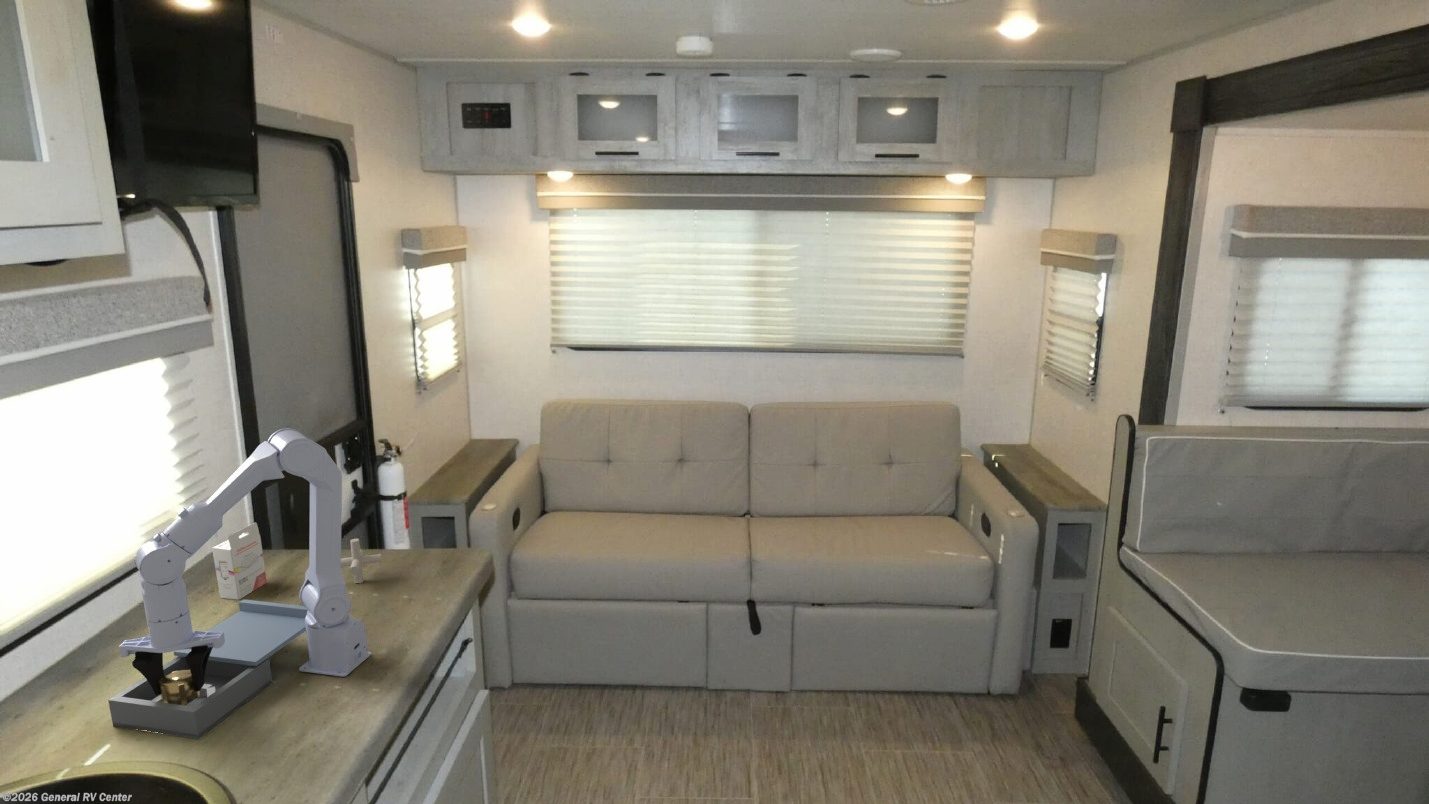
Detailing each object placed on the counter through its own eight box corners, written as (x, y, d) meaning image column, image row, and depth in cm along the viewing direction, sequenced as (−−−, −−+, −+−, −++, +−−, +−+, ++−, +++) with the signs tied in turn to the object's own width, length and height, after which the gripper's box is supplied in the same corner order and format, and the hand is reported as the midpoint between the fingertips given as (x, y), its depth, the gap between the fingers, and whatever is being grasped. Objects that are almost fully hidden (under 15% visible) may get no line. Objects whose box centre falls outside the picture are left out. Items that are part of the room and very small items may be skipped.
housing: (272, 683, 142) (269, 658, 141) (198, 739, 126) (194, 712, 125) (194, 672, 145) (190, 648, 144) (113, 726, 129) (108, 700, 128)
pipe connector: (337, 575, 184) (333, 534, 182) (384, 570, 187) (380, 529, 185) (331, 594, 175) (326, 551, 172) (380, 588, 178) (376, 546, 175)
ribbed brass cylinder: (202, 700, 132) (199, 678, 131) (166, 712, 129) (162, 690, 128) (195, 686, 136) (192, 665, 135) (160, 698, 133) (156, 676, 132)
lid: (320, 620, 153) (318, 607, 152) (256, 666, 137) (254, 652, 137) (245, 611, 156) (243, 599, 156) (174, 655, 141) (172, 642, 140)
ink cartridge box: (248, 581, 181) (239, 519, 178) (267, 583, 180) (259, 521, 177) (218, 598, 173) (208, 534, 170) (238, 600, 172) (229, 536, 169)
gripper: (227, 598, 134) (237, 671, 137) (129, 606, 132) (142, 681, 135) (210, 618, 128) (221, 695, 131) (107, 627, 125) (121, 705, 128)
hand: (180, 689), depth 132 cm, fingers closed on ribbed brass cylinder, 5 cm apart
